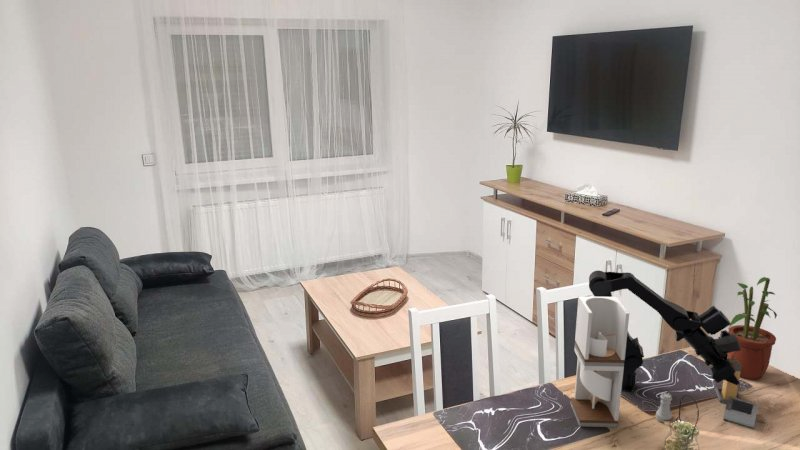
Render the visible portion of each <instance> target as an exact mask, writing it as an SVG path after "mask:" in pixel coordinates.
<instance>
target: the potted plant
mask: <svg viewBox="0 0 800 450" xmlns="http://www.w3.org/2000/svg"><path fill="white" fill-rule="evenodd" d="M770 281H771V279H770V277H765V276H762V277H761V278H759V279H758V281H757V283H756V286H759V285H760V284H762V283H764V282H765V283H764V285H763V286H764V287H763V290H761V292H762V293H761V298H760V303H759V307H758V312H757V315H756V319H754V318H753V317H755V315H754V314H752V310H753V309H752V307H753V306H754V305H755V304H756V303H755V301H754V300H753V299H754V287H753V286H750V287H749V286H748V285H747V284H745V283H741V282H740V283H739V282H737V283H736V284H737V285H738V286H739V287H740V288H741V289H743V290H742V291H738V292H737V297H738V296H742V298H743V305H744V307H743V308H744V312H742V313H741V312H740V313H738V314H735V316H733V318H732V319H731V321H730V323H731V324H730V325H729V326H728V328H727V331H728V332H729V333H730V334H732V333H733V335H735V336H736V338H737V340H738V342H739V345H740V347H741V350H740V351H734V352H730V353H727V354H728V356H727V358H730V359H738V360H739V362H740V364H741V366H742V367H741V372H740V378H742V379H746V380H759V379H760V378H761V377H762V376H764V375H765V374H766V372H767V370H768V367H769V364H770V362H771V361H770V360H771V355H772V350H773V346H774V345H775V344H776V342H777V338H776V336H775V335H774V334H773V333H771V332H770V331H768V330H766V329H764V328H761V326H762V323H763V320H764V317H765V315H766V316H768V317H769V318H772V317H771V316H770V312H769V311H768V310H770V311H772V313H773V315H774V319H776V318H777V316H778V314H777V312H776V311H775V310H773V309H772V308H770V307H769V306H770V304H769V303H767V302H769V301H770V300H769V299H768V300H766V298H768V296H769V294H770V295H775V296H776V293H775V292H773V291H768V289H769V285H770V283H771V282H770ZM747 288H749V292H748V293H749V294H747ZM743 319H744V325H743V324H741V325H740V324H737V323H738V322H739V321H741V320H743ZM755 320H756V321H755ZM751 321H753V322H754V325H752V326H751V325H750V323H751ZM735 324H737V325H735Z"/></svg>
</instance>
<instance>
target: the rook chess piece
mask: <svg viewBox="0 0 800 450" xmlns="http://www.w3.org/2000/svg"><path fill="white" fill-rule="evenodd" d="M659 399H660V401H659V402H660V405H659V408H658V409H657V410H656V412H655V415H654V417H655V419H656V420H657V422H661V423H663V424H664V423H665V421H669V420H671V419H672V418H673V414H672V412H671V405H672V403H671V401H673V397H672V394H671V393H669V392H668V393H667V392H666V391H665V392H662V393H661V394H660V395H659Z"/></svg>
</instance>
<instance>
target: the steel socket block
mask: <svg viewBox="0 0 800 450" xmlns="http://www.w3.org/2000/svg"><path fill="white" fill-rule="evenodd" d="M759 405H760V404H759V403H757V402H752V401H749V400H745V399H742V398H741V399H739V398H735V397H732V396H729V399H728V402H727V403H726V405H725V409H724V415H723V421H725V422H729V423H730V424H735V425H738V426H741V427H744V428H748V429H751V430H754V429H755V425H756V421H757V416H758V411H759V410H758V409H759Z"/></svg>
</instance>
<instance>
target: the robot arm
mask: <svg viewBox="0 0 800 450" xmlns="http://www.w3.org/2000/svg"><path fill="white" fill-rule="evenodd" d="M588 288H589V290H590V292H591V294H592V295H593V297H613V292H617V291H618V292H619V291H621V290H628V291H629V292H630V293H632V294H634V295H635V296H636V297H637V298H639V299H640V300H641V301H643V302H644V303H645V304H647V305H648V306H649V307H651V308H652V309H654V310H655V311H656V312H657V314H658V315H660V316H661V318H662V319H663V321H664V322H666V324H667V325H668V326H669V327H670V328H671V329H672V330H674V331H675V332H674V333H675V334H674V339H675V341H676V342H679V341H682V339H683V340H685V341H686V343H688V345H689V346H690V347H691V348H692V349H693V350H694V352H695V354H696V355H697V356H699V357H700V358H701V359H703V361H704V364H705V365H706V366H710V365H711V366H712V367H710V370H709V374H710V375H711V378H712V379H713V380H714V382H716V384H717V383H720V382H723V380H725V381H728V382H730V383H733V384H735V385H738V386H739V384H740V380H739V381H738V379H737V378H736V376H735V375H734V373H735V372H736V371H735V369H734V366H733V364H732V362H731V363H730V362H729V361H726V360H727V356H728V354H727V353H730V352H734V351H740V350H741V347H740V345H739V342H738V340H737V338H736V336H735V335H733V333H732V334H730V333H729V332H728V331H729V330H727V329H726V328H727V327H729V326H730V324H731V321H730V320H729V318H728V317H727V316H726V315H725V313H723V312H722V310H720V309H718V308H716V306H715V305H712V306H711V307H709V308H708V309H707V310H706V311H704V312H703V313H701V314H700V315H699V313H698V312H695V311H691V310H688V309H687V310H686V308H684V307H682V306H680V305H679V304H676V303H675V302H672V301H669V300H667V299H665V298H664V297H662V296H661V295H660V294H658V293H657V292H655V291H654V289H652V288H651V287H649V286H648V285H646V284H645V283H644V282H642V281H641V280H639V279H638V278H637V277H635V275H634V274H633V273H631V272H618V271H617V272H616V271H602V270H595V271H592V272H591V273H590V274H589V277H588ZM724 329H726V330H724ZM718 333H719V336H718V338H714V337H713V335H716V334H718ZM709 334H710V335H711V336H710V335H709ZM644 358H645V355H644V349H643V346H642V345H641V344H640V341H639V338H638V337H635V338H633V337H632V336H631V335H630V332H629V331H628V332H627V341H626V351H625V360H624V370H623V380H622V389H621V391H626V392H629V393H632V392H633V390H634V389H635V388H636V383H637V377H638V375H637V372H636V371H637V369H640V367H642V365H643V363H644V360H643V359H644Z"/></svg>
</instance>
